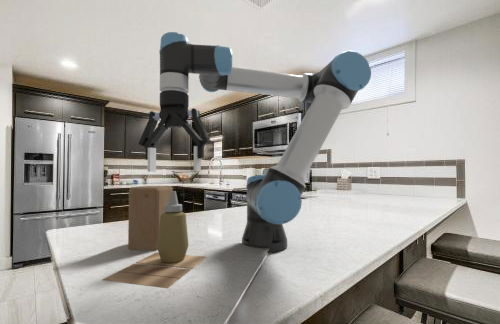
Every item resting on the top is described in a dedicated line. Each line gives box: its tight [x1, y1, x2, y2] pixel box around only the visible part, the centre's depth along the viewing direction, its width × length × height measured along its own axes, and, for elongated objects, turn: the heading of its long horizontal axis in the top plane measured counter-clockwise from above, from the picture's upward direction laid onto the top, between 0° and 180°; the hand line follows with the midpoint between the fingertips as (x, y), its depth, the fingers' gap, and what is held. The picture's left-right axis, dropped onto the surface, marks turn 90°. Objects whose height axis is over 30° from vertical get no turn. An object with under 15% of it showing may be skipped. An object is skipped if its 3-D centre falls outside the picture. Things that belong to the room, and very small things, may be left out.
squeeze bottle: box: [157, 190, 190, 263], centre depth 68 cm, size 8×8×18 cm
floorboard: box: [102, 263, 192, 289], centre depth 58 cm, size 16×10×2 cm, turn 76°
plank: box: [135, 251, 208, 270], centre depth 68 cm, size 16×9×2 cm, turn 76°
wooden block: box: [127, 185, 174, 252], centre depth 82 cm, size 10×10×20 cm
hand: (174, 171), depth 69 cm, fingers open, 13 cm apart
